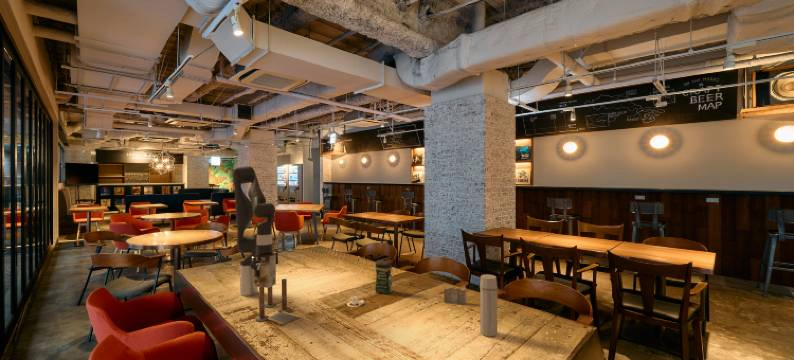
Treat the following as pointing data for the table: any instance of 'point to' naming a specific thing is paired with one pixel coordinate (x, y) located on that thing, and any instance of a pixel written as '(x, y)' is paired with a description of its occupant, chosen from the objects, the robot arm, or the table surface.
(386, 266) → the coffee jar
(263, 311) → the post
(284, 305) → the post
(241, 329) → the table surface
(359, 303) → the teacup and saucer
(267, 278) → the coffee box
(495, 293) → the water bottle
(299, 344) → the table surface
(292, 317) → the pad
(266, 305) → the post
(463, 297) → the architectural model on board
